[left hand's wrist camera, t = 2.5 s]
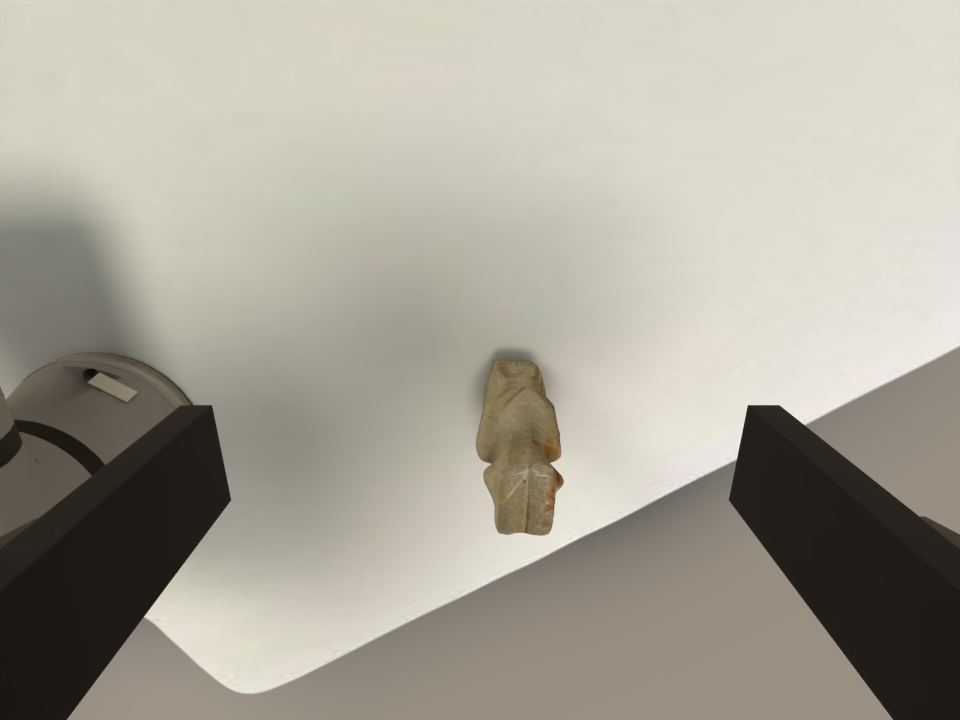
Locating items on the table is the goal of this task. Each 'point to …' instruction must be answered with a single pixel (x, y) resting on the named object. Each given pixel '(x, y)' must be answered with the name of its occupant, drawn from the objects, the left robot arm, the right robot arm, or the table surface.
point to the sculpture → (519, 448)
